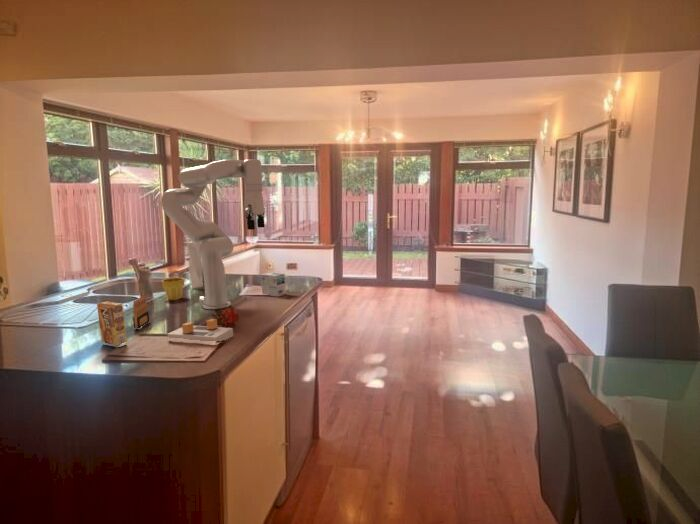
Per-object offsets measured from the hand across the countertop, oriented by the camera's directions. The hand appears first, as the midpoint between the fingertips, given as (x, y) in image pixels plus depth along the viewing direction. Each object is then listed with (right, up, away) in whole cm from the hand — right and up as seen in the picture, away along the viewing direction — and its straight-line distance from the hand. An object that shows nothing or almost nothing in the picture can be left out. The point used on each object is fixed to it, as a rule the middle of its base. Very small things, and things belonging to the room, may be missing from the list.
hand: (256, 228), depth 209 cm
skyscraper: (-44, -29, +58) cm, 78 cm away
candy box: (-43, -45, -38) cm, 73 cm away
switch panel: (-13, -43, -34) cm, 56 cm away
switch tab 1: (-17, -40, -37) cm, 57 cm away
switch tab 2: (-10, -39, -33) cm, 52 cm away
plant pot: (-48, -33, +33) cm, 67 cm away
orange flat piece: (-43, -41, -15) cm, 61 cm away
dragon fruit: (-7, -40, -20) cm, 46 cm away
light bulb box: (+2, -31, +35) cm, 47 cm away
